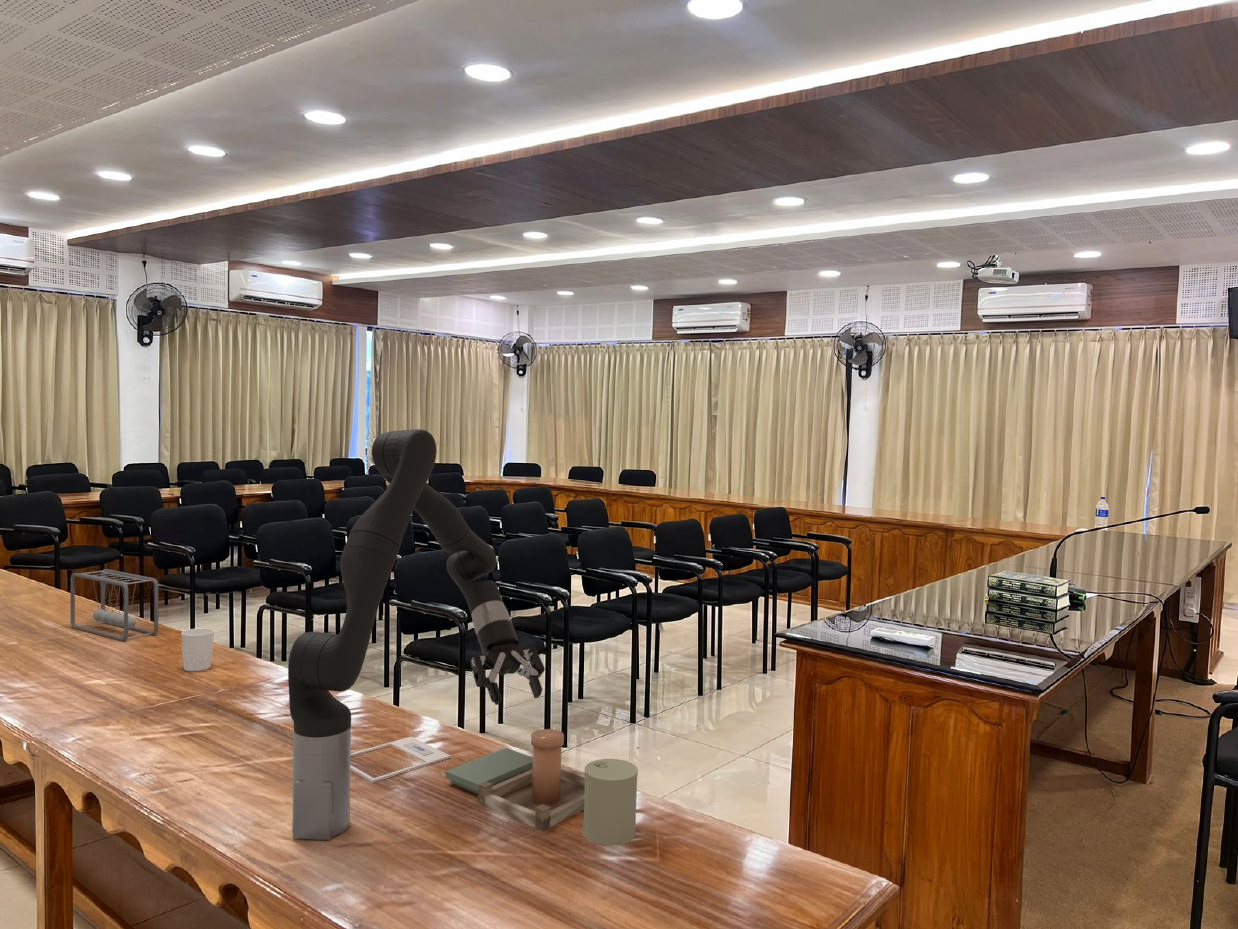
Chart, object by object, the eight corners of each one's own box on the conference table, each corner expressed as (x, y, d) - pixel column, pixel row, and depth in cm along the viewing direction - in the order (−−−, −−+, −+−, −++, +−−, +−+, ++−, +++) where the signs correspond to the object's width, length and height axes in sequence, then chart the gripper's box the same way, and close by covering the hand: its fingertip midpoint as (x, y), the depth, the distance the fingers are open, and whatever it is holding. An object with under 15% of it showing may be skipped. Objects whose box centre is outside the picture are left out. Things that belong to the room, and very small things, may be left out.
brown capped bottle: (560, 806, 156) (562, 741, 155) (527, 805, 156) (529, 740, 156) (563, 792, 162) (565, 729, 161) (531, 791, 162) (533, 728, 162)
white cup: (181, 665, 236) (182, 629, 236) (213, 662, 239) (213, 627, 239) (180, 673, 229) (180, 636, 228) (213, 670, 232) (213, 634, 232)
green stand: (537, 774, 171) (538, 759, 171) (478, 800, 159) (478, 784, 158) (505, 762, 177) (505, 747, 177) (445, 786, 164) (445, 771, 164)
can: (606, 817, 154) (608, 751, 153) (647, 834, 148) (649, 766, 147) (571, 836, 146) (573, 766, 146) (612, 854, 141) (614, 782, 140)
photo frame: (450, 754, 178) (372, 779, 165) (450, 760, 178) (372, 785, 165) (410, 735, 188) (334, 757, 175) (410, 740, 188) (334, 762, 175)
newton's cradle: (158, 635, 266) (159, 578, 265) (125, 642, 257) (125, 583, 256) (103, 622, 281) (103, 567, 280) (69, 628, 272) (69, 572, 271)
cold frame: (611, 797, 162) (612, 776, 162) (542, 833, 147) (543, 810, 147) (548, 773, 172) (549, 754, 171) (477, 805, 156) (478, 784, 156)
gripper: (467, 622, 170) (492, 695, 161) (531, 614, 178) (558, 684, 169) (456, 642, 175) (479, 715, 166) (518, 634, 183) (544, 703, 174)
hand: (519, 699), depth 168 cm, fingers open, 8 cm apart
